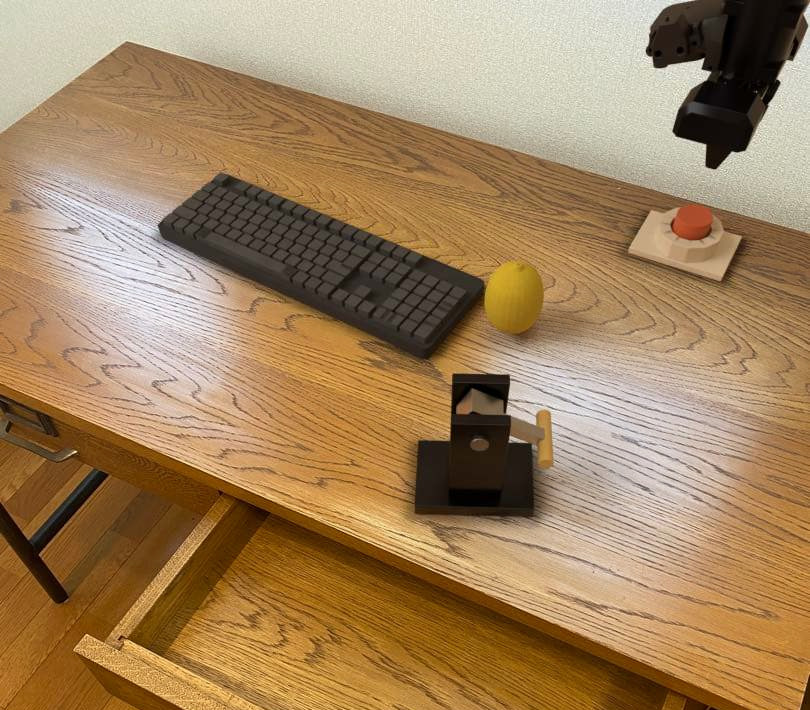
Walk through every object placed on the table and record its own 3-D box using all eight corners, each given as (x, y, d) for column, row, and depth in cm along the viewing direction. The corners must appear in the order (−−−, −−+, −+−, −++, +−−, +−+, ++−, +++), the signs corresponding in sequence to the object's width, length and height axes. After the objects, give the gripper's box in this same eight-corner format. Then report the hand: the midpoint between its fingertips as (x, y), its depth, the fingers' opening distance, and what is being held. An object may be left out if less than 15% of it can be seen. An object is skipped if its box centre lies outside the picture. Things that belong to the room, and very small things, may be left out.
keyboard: (485, 291, 77) (487, 275, 75) (426, 360, 72) (426, 345, 70) (225, 182, 87) (220, 166, 86) (158, 236, 83) (153, 220, 81)
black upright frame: (530, 450, 66) (546, 364, 57) (532, 517, 63) (550, 437, 53) (418, 448, 67) (416, 362, 58) (414, 513, 63) (411, 433, 54)
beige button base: (740, 241, 80) (748, 221, 77) (720, 281, 76) (729, 261, 74) (649, 215, 82) (655, 194, 80) (627, 252, 79) (633, 232, 77)
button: (712, 225, 78) (717, 210, 76) (701, 245, 76) (707, 230, 75) (678, 215, 79) (683, 200, 77) (667, 235, 77) (672, 220, 76)
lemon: (471, 337, 74) (476, 270, 67) (500, 303, 76) (506, 236, 69) (520, 359, 72) (530, 293, 65) (548, 324, 74) (560, 257, 67)
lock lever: (540, 424, 62) (558, 408, 60) (543, 474, 59) (561, 458, 57) (456, 392, 59) (472, 373, 57) (455, 442, 56) (471, 425, 54)
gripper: (711, -88, 64) (662, 97, 78) (636, 11, 56) (596, 198, 70) (844, -64, 61) (769, 124, 75) (785, 44, 53) (713, 232, 67)
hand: (711, 166), depth 71 cm, fingers closed
